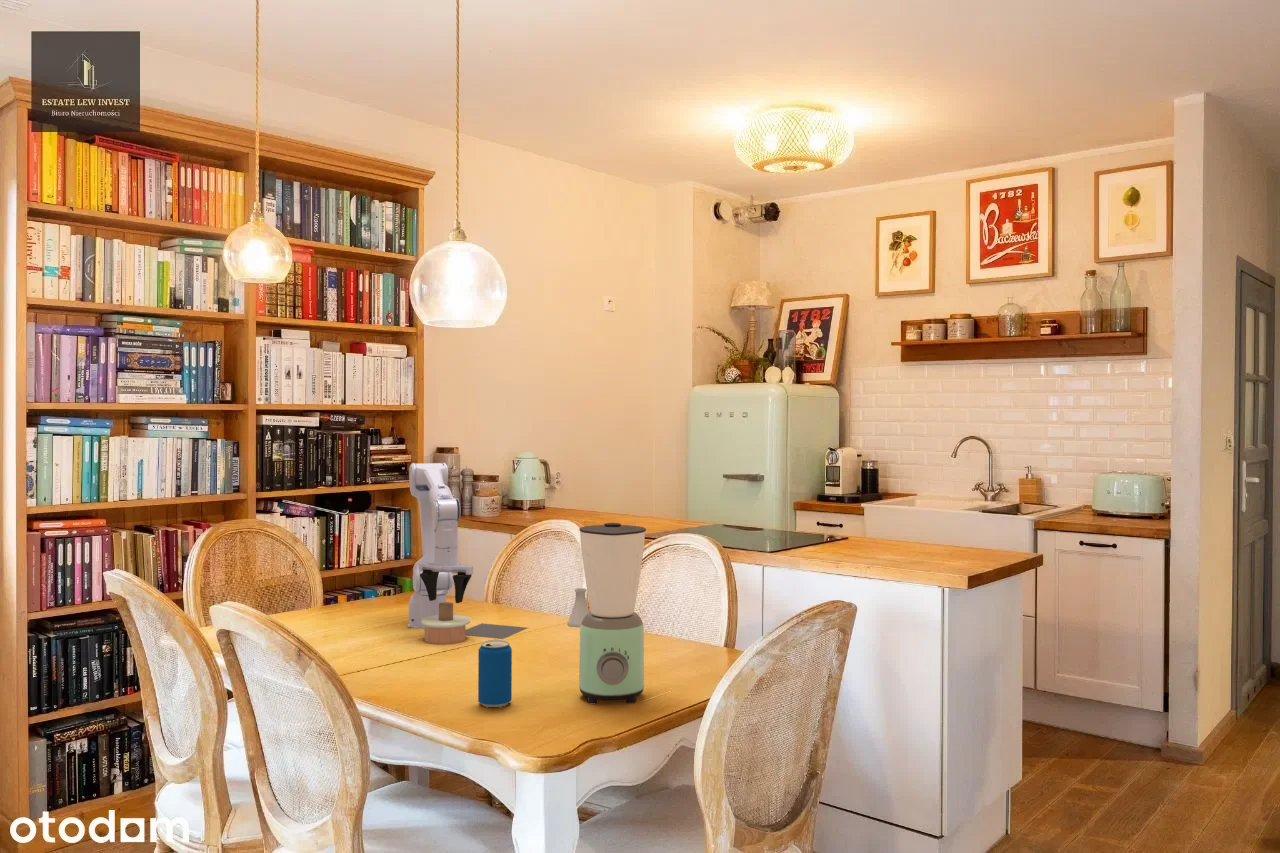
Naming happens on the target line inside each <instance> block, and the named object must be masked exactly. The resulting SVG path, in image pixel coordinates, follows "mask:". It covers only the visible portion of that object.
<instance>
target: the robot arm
mask: <svg viewBox="0 0 1280 853" xmlns="http://www.w3.org/2000/svg"><path fill="white" fill-rule="evenodd" d="M408 481H409V491H410V494H411V496H412V497H413V498H416V499H417V505H418V509H419V511H418V512H419V523H420V535H421V551H422V556H421V558H420V559H418V560H417V561H416V562H415V563H414V565H413V568H412V588H413V589H412V590H414V592H413V593H412V594H411V595H410V598H409V601H408V625H406V628H410V629H411V628H412V629H414V628H417V629H425V626H424V625H422V624H421V620H422V619H423V618H426V617H429V616H435V615H439V603H442V602H447V594H449V592H450V591H451V590H452V588H453V584H454V599H455V604H460V603H462V602H463V600H464V595H465V591H466V590H467V585H469V582H470V580H471V578H472V576H473V575H472V574H474V566H473V565H468V564H460V563H458V548H459V547H458V544H459V543H458V540H459V538H458V536H459V535H458V534H459V530H458V527H459V526H458V524H459V523H458V522H460V519H461V512H462V511H461V503H460V500H459V498H457V497H456V498H455V497H454V496H453V493H452V491H451V489H450V487H449V486H448V482H449V467H448V465H447V464H446V462H434V463H431V462H430V463H423V462H422V463H415V462H412V463H410V465H409V469H408Z"/></svg>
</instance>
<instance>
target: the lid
mask: <svg viewBox="0 0 1280 853" xmlns="http://www.w3.org/2000/svg"><path fill="white" fill-rule="evenodd" d="M470 623H471V618H470V617H469V616H468V615H462V614H454V602H450V601H446V602H442V603H439V615H435V616H429V617H426V618H423V619H422V620H421V624H422V625H424V626H427V627H434V628H450V627H459V626H464V625H469V624H470Z"/></svg>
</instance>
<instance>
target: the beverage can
mask: <svg viewBox="0 0 1280 853" xmlns="http://www.w3.org/2000/svg"><path fill="white" fill-rule="evenodd" d="M512 656H513V649H512V647H511V646H510V642H509V641H508V640H504V639H501V640H500V639H494V640H493V639H492V640H490V639H489V640H485V641H482V642H480V647H479V648H478V662H477V664H478V666H477V667H478V668H477V670H478V671H477V672H478V673H477V674H478V676H477V678H478V680H477V681H478V682H477V684H478V686H477V690H478V691H477V692H478V693H477V694H478V696H477V700H478V704H481V705H483V706H482V707H484V706H486V707H485V708H488V707H499V708H503V707H502V706H504V707H506V706H508V704H509V703H510V702H512V694H513V693H512V690H513V687H512V685H513V684H512V681H513V680H512V675H513V674H512V672H513V671H512V670H513V668H512V664H513V663H512V659H513V658H512ZM505 705H506V706H505Z"/></svg>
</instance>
